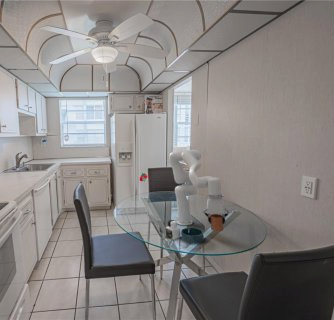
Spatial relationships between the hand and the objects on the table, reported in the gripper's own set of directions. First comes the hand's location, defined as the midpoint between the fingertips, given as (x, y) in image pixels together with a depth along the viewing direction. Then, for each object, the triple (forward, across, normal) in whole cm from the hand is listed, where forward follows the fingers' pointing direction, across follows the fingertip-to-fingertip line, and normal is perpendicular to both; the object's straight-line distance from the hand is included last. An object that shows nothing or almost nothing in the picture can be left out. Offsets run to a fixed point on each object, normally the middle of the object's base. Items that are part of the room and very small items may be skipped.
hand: (216, 222), depth 139 cm
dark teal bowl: (+12, +16, 0) cm, 20 cm away
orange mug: (+4, 0, -2) cm, 5 cm away
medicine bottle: (+12, +29, -2) cm, 31 cm away
